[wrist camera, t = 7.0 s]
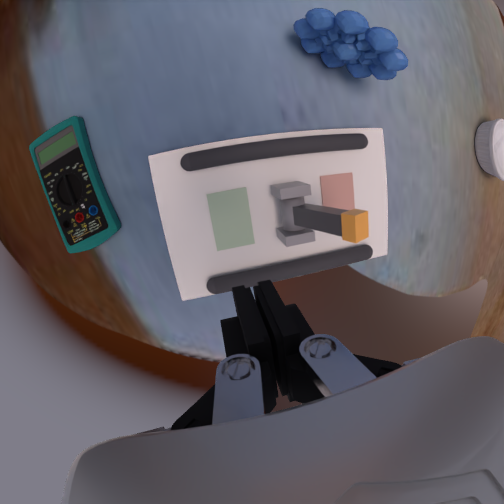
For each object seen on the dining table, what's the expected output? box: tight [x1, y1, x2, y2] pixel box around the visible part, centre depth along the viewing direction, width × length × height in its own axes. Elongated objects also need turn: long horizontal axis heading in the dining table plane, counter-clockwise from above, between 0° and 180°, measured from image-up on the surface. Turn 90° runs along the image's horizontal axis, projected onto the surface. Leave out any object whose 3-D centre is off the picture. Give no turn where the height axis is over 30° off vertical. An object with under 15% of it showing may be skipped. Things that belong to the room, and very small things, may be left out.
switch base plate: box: [148, 128, 388, 301], centre depth 29 cm, size 16×26×6 cm, turn 99°
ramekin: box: [475, 119, 504, 181], centre depth 33 cm, size 11×11×5 cm
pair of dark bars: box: [180, 133, 373, 294], centre depth 29 cm, size 15×20×2 cm
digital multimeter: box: [29, 116, 121, 253], centre depth 26 cm, size 7×15×3 cm, turn 18°
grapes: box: [293, 8, 408, 80], centre depth 21 cm, size 12×7×12 cm, turn 63°
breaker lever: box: [280, 196, 369, 243], centre depth 25 cm, size 3×2×10 cm
